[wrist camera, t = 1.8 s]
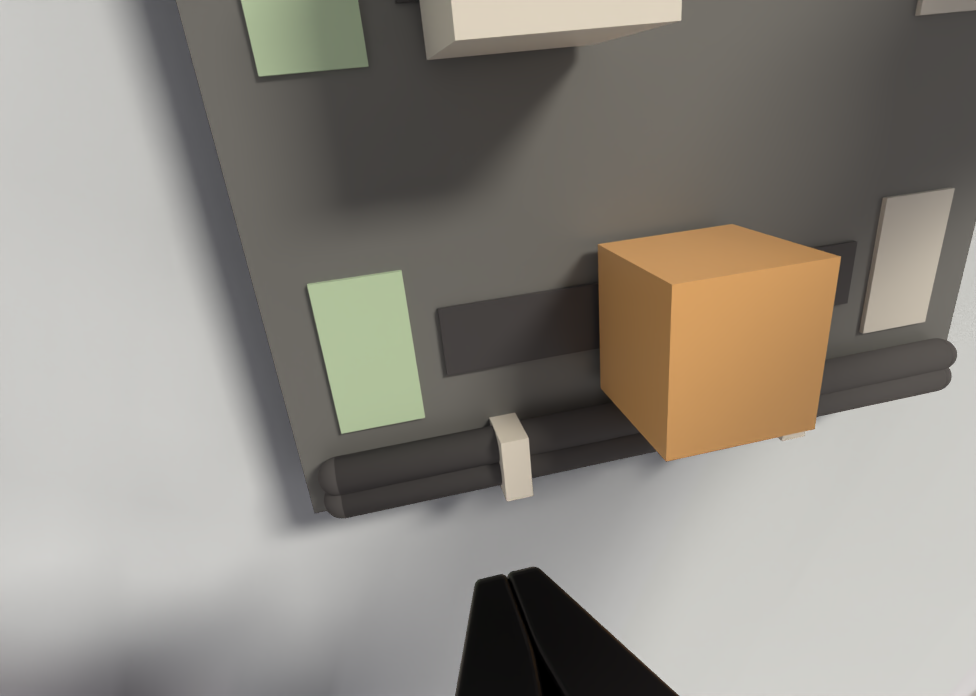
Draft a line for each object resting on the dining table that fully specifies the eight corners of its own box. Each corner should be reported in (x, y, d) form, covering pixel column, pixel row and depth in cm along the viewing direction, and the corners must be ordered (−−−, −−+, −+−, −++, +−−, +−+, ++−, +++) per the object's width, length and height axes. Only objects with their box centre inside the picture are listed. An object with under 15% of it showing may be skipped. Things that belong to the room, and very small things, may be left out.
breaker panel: (1014, -250, 15) (1110, -302, 13) (889, 359, 23) (940, 383, 21) (132, -243, 12) (89, -312, 10) (318, 475, 19) (314, 516, 17)
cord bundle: (938, 329, 20) (981, 345, 18) (926, 381, 21) (966, 400, 19) (314, 451, 16) (311, 482, 15) (329, 507, 17) (327, 541, 16)
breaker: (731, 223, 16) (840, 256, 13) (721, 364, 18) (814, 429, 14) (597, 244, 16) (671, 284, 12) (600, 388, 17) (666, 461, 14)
